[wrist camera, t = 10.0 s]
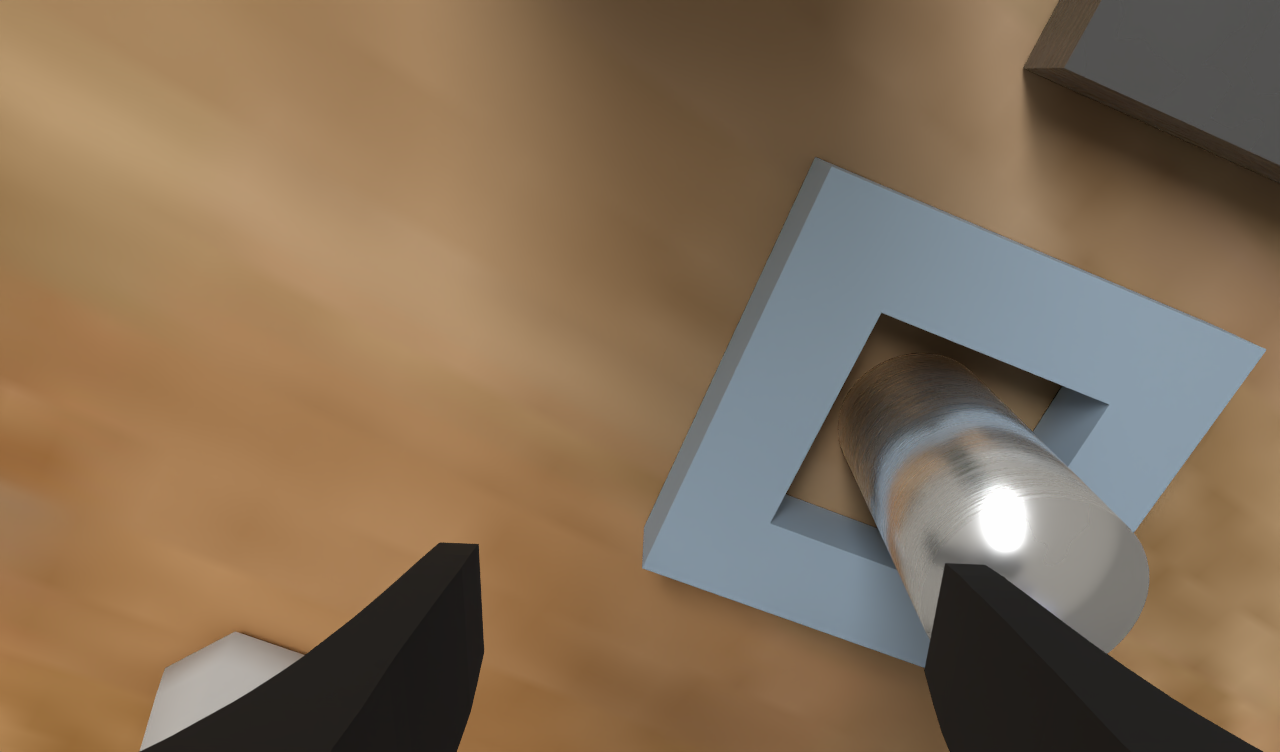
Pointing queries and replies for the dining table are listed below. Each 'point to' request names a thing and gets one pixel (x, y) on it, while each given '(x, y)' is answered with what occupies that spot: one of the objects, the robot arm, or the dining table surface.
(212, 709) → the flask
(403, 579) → the robot arm
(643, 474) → the dining table surface
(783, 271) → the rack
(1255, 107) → the socket block
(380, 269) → the dining table surface
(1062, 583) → the steel peg
